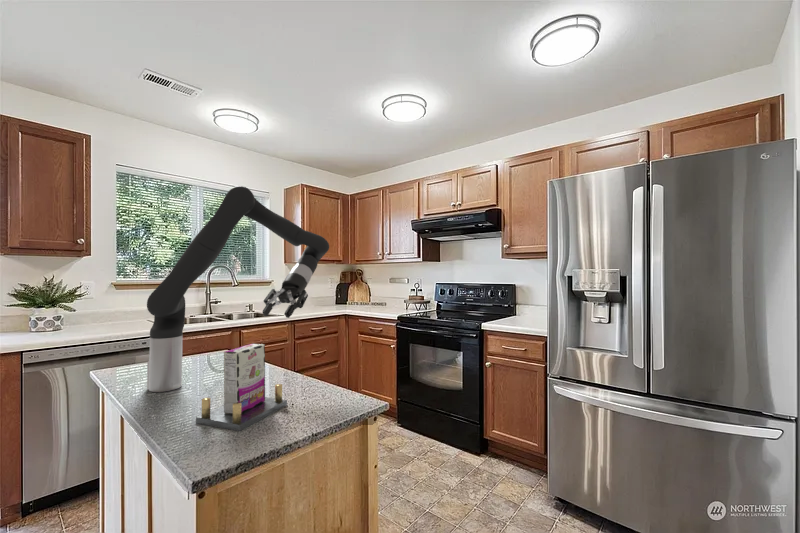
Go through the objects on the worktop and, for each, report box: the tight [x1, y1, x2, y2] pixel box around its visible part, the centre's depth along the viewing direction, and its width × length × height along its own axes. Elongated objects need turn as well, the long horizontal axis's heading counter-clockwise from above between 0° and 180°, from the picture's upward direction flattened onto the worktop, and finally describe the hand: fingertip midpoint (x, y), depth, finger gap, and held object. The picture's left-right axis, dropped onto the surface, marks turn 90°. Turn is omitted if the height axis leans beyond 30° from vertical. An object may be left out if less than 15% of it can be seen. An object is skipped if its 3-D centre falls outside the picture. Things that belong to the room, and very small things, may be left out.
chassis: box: [195, 383, 288, 432], centre depth 99 cm, size 14×18×6 cm
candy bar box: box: [223, 343, 266, 414], centre depth 100 cm, size 11×5×16 cm, turn 164°
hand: (275, 315), depth 116 cm, fingers open, 8 cm apart
